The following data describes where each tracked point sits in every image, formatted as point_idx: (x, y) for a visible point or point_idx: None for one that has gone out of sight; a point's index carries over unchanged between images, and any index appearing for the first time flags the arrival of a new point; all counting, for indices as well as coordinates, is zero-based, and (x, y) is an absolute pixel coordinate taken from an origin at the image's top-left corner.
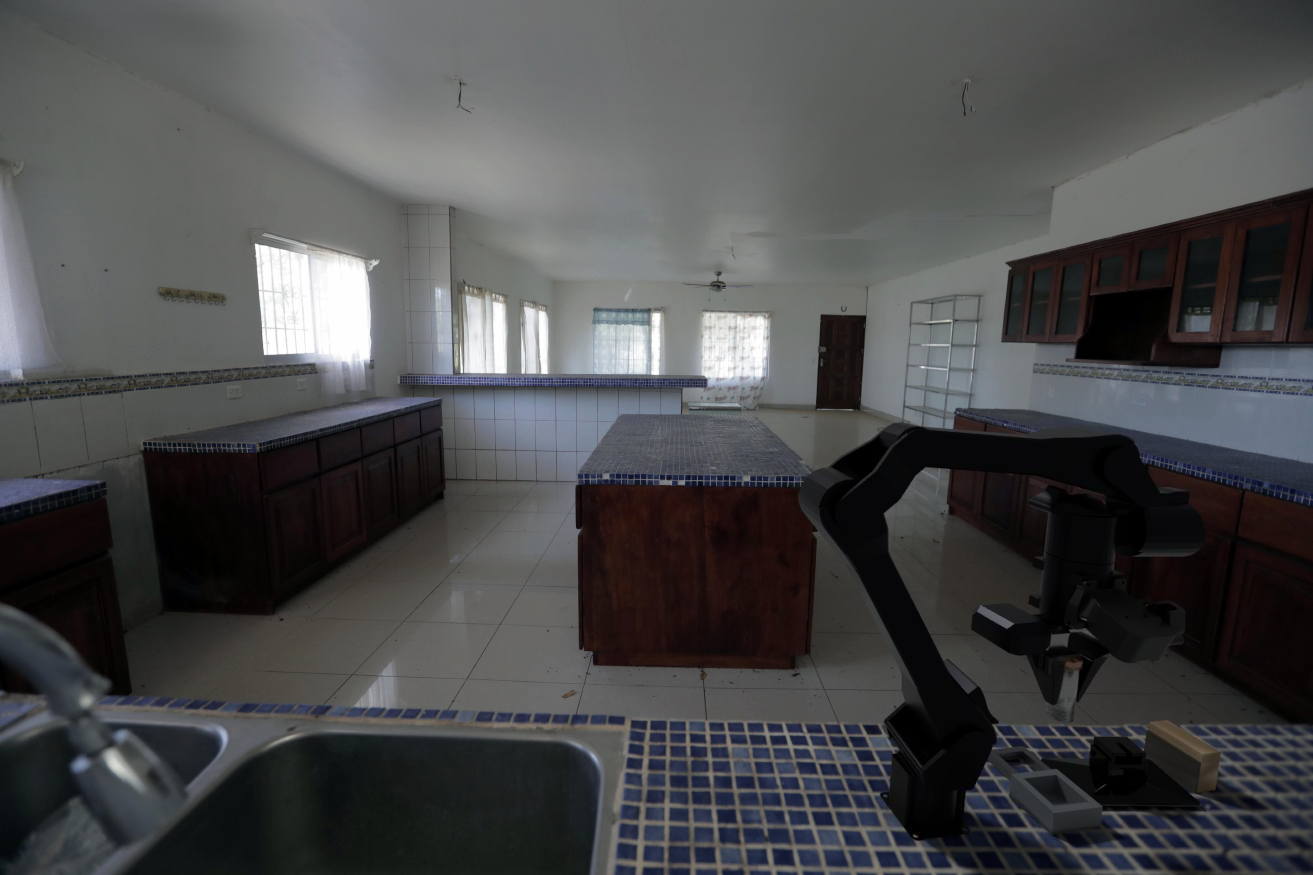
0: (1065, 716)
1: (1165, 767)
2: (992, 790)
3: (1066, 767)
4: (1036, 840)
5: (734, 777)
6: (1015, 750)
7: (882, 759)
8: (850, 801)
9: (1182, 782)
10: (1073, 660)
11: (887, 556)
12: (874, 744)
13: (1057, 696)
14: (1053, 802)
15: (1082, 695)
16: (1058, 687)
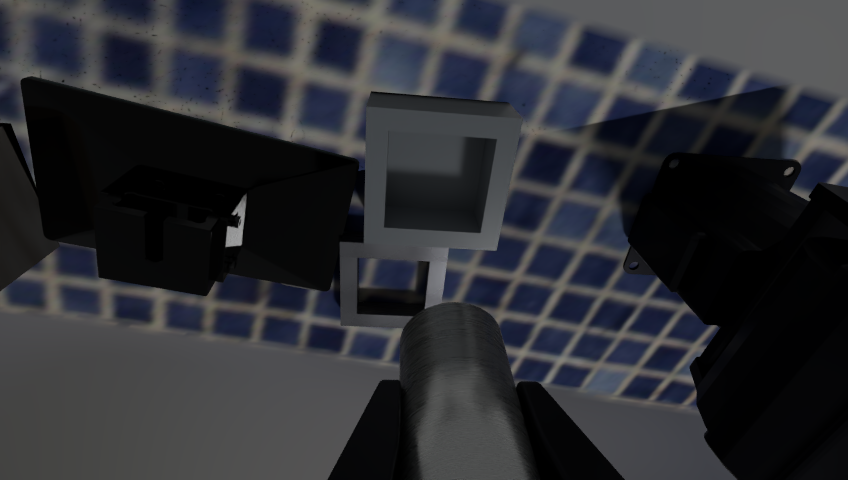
0: (480, 325)
1: (20, 207)
2: (508, 240)
3: (297, 255)
4: (554, 100)
5: None
6: (371, 317)
7: (644, 345)
8: None
9: (10, 160)
10: None
11: None
12: (620, 377)
13: (543, 419)
14: (420, 178)
15: (368, 409)
16: (581, 474)
